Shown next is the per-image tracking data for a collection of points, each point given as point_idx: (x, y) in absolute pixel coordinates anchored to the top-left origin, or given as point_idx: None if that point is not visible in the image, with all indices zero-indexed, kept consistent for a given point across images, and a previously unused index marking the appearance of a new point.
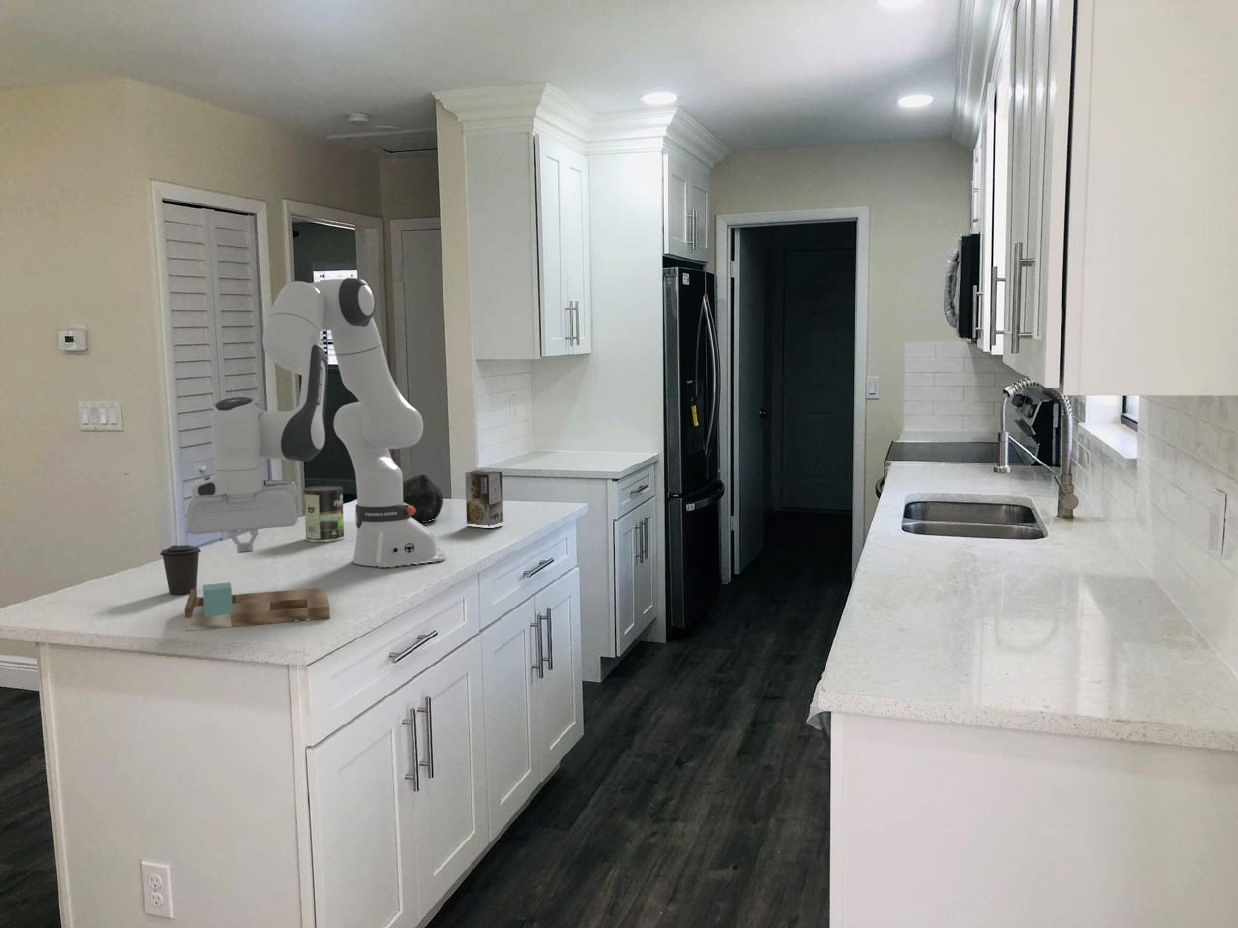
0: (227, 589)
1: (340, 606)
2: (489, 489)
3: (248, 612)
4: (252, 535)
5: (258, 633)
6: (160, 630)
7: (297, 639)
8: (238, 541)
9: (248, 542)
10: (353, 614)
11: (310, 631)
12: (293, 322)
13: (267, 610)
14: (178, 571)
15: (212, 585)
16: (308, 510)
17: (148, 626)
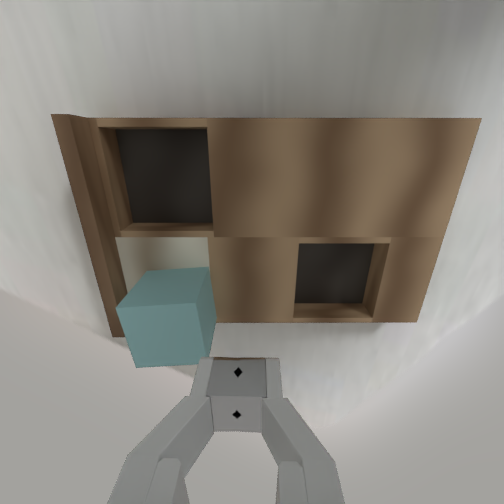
0: (197, 361)
1: (455, 219)
2: None
3: (248, 317)
4: (288, 448)
5: (266, 353)
6: (82, 289)
7: (322, 394)
8: (200, 445)
9: (257, 409)
10: (453, 291)
11: (349, 366)
12: None
13: (288, 313)
14: None
15: (148, 323)
16: None
17: (44, 253)
